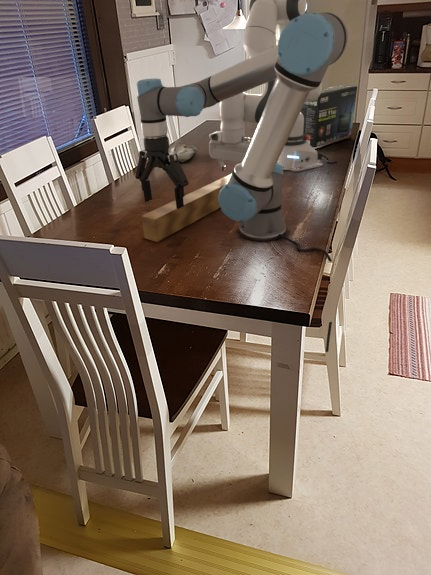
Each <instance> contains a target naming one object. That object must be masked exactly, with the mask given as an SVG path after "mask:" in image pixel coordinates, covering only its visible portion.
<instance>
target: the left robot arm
mask: <svg viewBox="0 0 431 575" xmlns="http://www.w3.org/2000/svg"><path fill="white" fill-rule="evenodd" d="M348 34H349V33H348V29H347V26H346V23H345V22H344V21H343V20H342V18H341V17H340V16H338V15H336V14H335V13H332V12H306V13H305V14H302V15H300V16H298V17H296V18H294V19H293V20H291V21H290V22H289V23H288V24H287V25H286V26H285V28H284V29H283V31H282V33H281V35H280V37H279V41H278V45H277V44H276V45H275V46H274V47H272V48H270V49H268V50H266V51H263V52H261V53H259V54H257V55H255V56H253V57H248V58H247V59H244V60H242V61H240V62H237V63H236V64H233V65H232V66H230V67H227V68H225V69H223V70H221V71H219V72H216V73H215V74H212V75H211V76H208V77H205V78H203V79H201V80H199V81H196V82H192V83H189V84H184V85H181V86H164V84H163V80H162V79H161V78H155V77H154V78H143V79H140V80H138V81H137V82H136V85H135V86H136V100H137V103H138V110H139V115H140V116H139V117H140V125H141V126H140V127H141V134H142V136H143V139H142V140H143V148H144V149H143V150H140V151H138V162H137V167H136V171H135V175H134V177H135V179H136V180H139V182H140V186H141V190H142V192H143V197H144V198H143V199H144V202H145V203H148V202H151V201H152V200H153V194H152V187H151V181H150V179H149V177H150V175H151V173H152V172H153V170H154V168H158V169H162V170H163V171H164V172H165V173H166V174H167V176H168V177H169V178H170V181H172V183H173V185H174V188H173V189H174V198H175V200H176V208H177V209H179V208H181V207H183V206H184V202H183V197H184V196H185V189H184V187H186V186H188V185H189V184H190V182H189V180H188V178H187V176H186V173H185V172H184V169H183V168H182V165H181V162H180V161H179V160H178V155H177V154H176V153H175V154H169V152H168V150H170V139H169V136H168V133H169V132H168V131H169V130H168V123H167V122H168V121H167V116H171V117H185V118H189V117H198V116H200V114H201V112H202V111H203V110H204V109H207V108H211V107H214V106H216V105H217V104H220V102H221V101H224V100H226V99H228V98H231V97H233V96H236V95H238V94H240V93H243V92H244V93H246V92H247V91H249V90H250V91H251V90H252V89H255V88H257V87H259V86H262V85H264V83H267V82H269V81H272V80H274V79H276V78H277V79H276V81H275V84H274V86H273V88H272V91H271V93H270V96H269V98H268V101H267V103H266V106H265V108H264V111H263V113H262V116H261V118H260V120H259V123H257V126H256V128H255V130H254V133H253V136H252V137H251V138H252V140H251V143H250V145H249V148H248V150H247V152H246V155H245V157H244V160H243V162H242V163H236V164H235V166H234V168H233V170H232V172H231V174H232V175H231V177H230V180H229V182H228V184H225V185H224V186H223V188H222V189H221V190H220V192H219V195H218V202H219V206H220V207H221V208H220V210H221V212H222V213H223V215H225V216H226V217H227V218H228V219H230V220H231V221H234V222H236V223H239V225H238V232H239V235H240V236H241V237H242V238H244V239H247V240H250V241H254V242H271V241H277V240H279V239H283V240H285V241H287V242H289V243H291V244H293V245H295V246H296V249H297V251H299V252H301V253H307V252H310V251H316V252H321V253H323V254H324V256H325V257H326V258H327V260H328V262H330V263H331V262H333V260H332V258H331V256H330V254H329V252H327V250H325V249H323V248H319V247H314V246H313V247H308V248H301V245H300V243H298V242H297V241H295V240H293V239H291V238H290V237H287V236H286V234H287V223H286V221H285V216H284V214H283V210H282V200H283V183H284V170H283V166H282V164H280V163H279V162H277V161H278V159H279V157H280V155H281V152H282V150H283V148H284V146H285V144H286V142H287V139H288V137H289V135H290V133H291V131H292V129H293V126H294V124H295V122H296V120H297V118H298V116H299V113H300V111H301V109H302V107H303V105H304V103H305V100H306V98H307V96H308V94H309V92H310V91H311V90H314V89H316V88H318V87H319V85H320V83H321V84H322V82H323V79H324V77H325V76H326V73H327V71H328V68H329V67H330V66H331V65H334V64H335V63H336V62H337V61H338V60H339V59H340V58H341V57H342V56H343V54H344V53H345V51H346V49H347V45H348V39H349V36H348ZM332 325H333V321H329V322H328V328H327V335H326V343H325V352H326V353H328V352H329V351H330V350H329V349H330V348H329V347H330V340H331V338H330V337H331V331H332Z"/></svg>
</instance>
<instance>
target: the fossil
mask: <svg viewBox="0 0 431 575" xmlns="http://www.w3.org/2000/svg"><path fill="white" fill-rule="evenodd" d="M168 152H169V154H175V153H176V154H177V155H178V160H179V163H185V162H187V161H188V160H190V159H191V158H192V157H193V156H194V155H197V154H198V153H199V150H198V148H197V146H195V145H188V146H187V145H186V143H184V142H183V143H181V142H176V143H175V145H174V146H173V147H172V148H171V149H168Z"/></svg>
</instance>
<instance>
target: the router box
mask: <svg viewBox="0 0 431 575" xmlns="http://www.w3.org/2000/svg"><path fill="white" fill-rule="evenodd" d="M357 93H358V86H356V85H350V84H339V85H338V84H337V85H334V86H328V87H324V88H323V87H322V90H321V94H320V96H319V97H318V98H317V100H315V101H312V102H305V103H304V105H303V107H302V109H301V111H300V112H301V113H302V114H303V116H304V127H303V134H305V135H309V136H310V140H306V142H307V143H308V144H309V145H310V146H311V147H317V146H320V145H323V144H325V143H328V142H331V141H333V140H336V139H338V138H341V137H344V136H347V135H351V136H352V133H353V132H352V131H353V125H354V115H355V109H356V99H357Z"/></svg>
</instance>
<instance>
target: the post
mask: <svg viewBox="0 0 431 575" xmlns="http://www.w3.org/2000/svg"><path fill="white" fill-rule="evenodd" d="M231 175H232V173H230V174H228V175H225V176H223V177H221V178H220V179H217V180H215V181H213V182H211V183H208V184H206V185H204V186H203V187H201V188H198V189H196V190H194V191H192V192H189V193H187V194H184V197H183V202H184V206H183V207H181V208H179V209H177V208H176V199H175V200H173V201H171V202H168V203H166V204H164V205H162V206H160V207H158V208H155V209H153V210H151V211H150V212H147V213H145V214H143V215H141V221H142V230H143V231H142V232H143V238H144V239H146V240H149V241H153V242H156V243H159V242H160V241H162V240H163V239H165V238H168V237H169V236H171V235H173V234H175V233H177V232H178V231H180V230H182V229H184V228H186V227H188V226H189V225H191V224H193V223H195V222H197V221H199V220H200V219H203V218H204V217H206V216H208V215H209V214H211V213H213V212H215V211H217V210H219V209H221V207H220V206H219V202H218V195H219V192H220V190H221V189H222V188H223V186H224V185H225V184H228V182H229V180H230V177H231Z"/></svg>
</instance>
